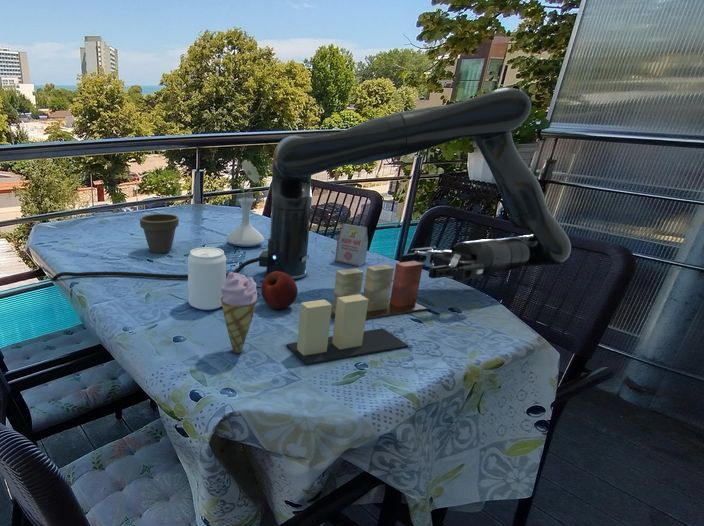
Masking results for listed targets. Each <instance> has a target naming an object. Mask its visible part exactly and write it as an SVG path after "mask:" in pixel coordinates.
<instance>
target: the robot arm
mask: <svg viewBox="0 0 704 526" xmlns="http://www.w3.org/2000/svg"><path fill="white" fill-rule="evenodd" d="M531 110H532V102H531V99H530V97H529V96H528V95H527V93H526V92H524V91H523V90H520V89H517V88H514V87H502V88H498V89H494V90H493V91H490V92H487V93H484V94H481V95H478V96H475V97H472V98H469V99H466V100H462V101H459V102H458V101H457V102H455V103H450V104H444V105H437V106H429V107H424V108H423V107H422V108H416V109H412V110H411V109H410V110H406V111H399V112H396V113H391V114H387V115H382V116H379V117H376V118H372V119H369V120H367V121H364V122H361V123H359V124H356V125H354V126H352V127H349V128H347V129H345V130H341V131H339V132H338V131H337V132H334V133H329V134H323V135H316V136H306V137H304V136H300V135H296V134H295V135H288V136H286V137H284V138H282V139H281V140H280V141H279V142H278V143H277V145H276V146H275V148H274V150H273V154H272V170H271V171H272V172H271V212H270V230H269V237H268V241H267V250H263V251H261V253H260V255H259V256H258V257H255V258H252V259H249V260H245V261H244V262H242V263H241V264H240V265H239V266H238V267H237V268H236V269H235V270H233V271H232V272H233V273H238V274H240V272H241V271H242V269H243V268H245V267H247V266H248V265H251V264H255V263H258V267H260V268H266V276H267V275H268V274H269V273H271V272H274V271H279V272H284V273H286V274H288V275H289V276H290V277H292V279H293V280H299V279H303V278H305V276H306V274H307V260H309V258H310V253H309V254H308V247H309V237H310V236H309V235H310V223H311V213H312V202H313V201H312V199H313V198H312V197H313V196H312V195H313V194H312V176H314V175H317V174H320V173H323V172H327V171H330V170H334V169H336V168H341V167H345V166H353V165H360V164H361V165H362V164H368V163H374V162H380V161H385V160H392V159H395V158H400V157H405V156H409V155H412V154H416V153H418V152H419V153H420V152H422V151H425V150H430V149H432V148H435V147H437V146H441V145H443V144H446V143H450V142H452V141H456V140H460V139H466V138H472V139H473V141H474V143H475V144H476V146H477V147H478V149H479V151H480V153H481V155H482V156H483V159H484V161H485V163H486V164H487V166H488V168H489V170H490V173H491V174H492V177H493V179H494V181H495V184H496V187H497V189H498V191H499V194H500V196H501V199H502V203H503V206H504V209H505V211H506V214H507V217H508V220H509V223H510V224H511V226H512V227H513V228H516V229H520V230H521V229H522V230H526V231H528V232H529V233H531V234H526V235H519V236H515V237H504V238H495V239H494V238H487V239H477V240H469V241H462V242H458V243H455V245H453V246H452V247H451V248H449V249H442V250H437V247H436V246H428V247H427V246H425V247H416V248H411V249H410V253H404V254H401V255H400V256H399V262H398V263H401V262H409V261H416V262H419V263H421V264H423V265H424V266H425V267H427V268H429V270H428V278H430V279H439V278H448V279H453V278H455V279H456V280H455V281H460V282H461V281H468V280H473V279H478V278H482V277H483V276H486V275H492V274H496V273H500V272H505V271H513V270H517V269H519V268H521V267H535V266H536V267H537V266H557V265H561V264H563V263H564V262H567V260H568V259H569V258H570V254H571V251H572V244H571V240H570V238H569V236H568V234H567V233H566V231H565V230H564V229H563V227H562V226H561V225H560V224H559V221H557V220H556V218H555V217H554V215H553V213H551V212H550V210H549V207H548V204H547V201H546V198H545V194H544V192H543V190H542V186H541V184H540V182H539V180H538V179H537V177H536V175H535V174H534V172H533V171H532V170H531V168H530V167H529V166H528V165H527V164H526V162H525V161H524V159H523V158H522V157H521V155H520V153H519V152H518V149H517V147H516V145H515V143H514V140H513V136H512V135H513V134H512V132H513V131H515V130H516V129H519V127H520V126H521V125H522V124H524V123H525V121H526V120H527V119H528V117H529V115H530V113H531ZM431 260H432V262H431ZM229 273H230V272H226V276H228V274H229ZM65 276H66V277H89V276H91V277H92V276H119V277H120V276H123V277H140V278H155V279H156V278H157V279H158V278H159V279H183V280H185V279H186V280H188V274H173V273H172V274H171V273H170V274H169V273H152V272H151V273H150V272H133V271H84V272H83V271H82V272H73V271H61V272H58V273H56V274H55V275H53V276H52V278H51V279H50V281H51V282H55V281H57V279H59V278H61V277H65Z"/></svg>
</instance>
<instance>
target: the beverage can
mask: <svg viewBox="0 0 704 526" xmlns="http://www.w3.org/2000/svg"><path fill="white" fill-rule="evenodd" d="M226 274H227V256H226V255H225V251H224V250H223V249H222V248H219V247H213V246H201V247H195V248H193V249H190V251H189V254H188V256H187V275H188V279H187V288H188V289H187V290H188V291H187V296H188V304H189V305H190V306H191V307H192V308H195V309H197V310H203V311H212V310H216V309H219V308H221V307H222V302H221V297H222V296H223V295H222V291H221V287H222V286H223V285H224V283H225V281H226V280H227V277H226Z"/></svg>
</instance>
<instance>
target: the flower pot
mask: <svg viewBox="0 0 704 526" xmlns="http://www.w3.org/2000/svg"><path fill="white" fill-rule="evenodd" d="M179 219H180V217H179V216H178V215H175V214H169V213H154V214H146V215H143V216H141V217H139V225H140V228H142V229H143V232H144V235H145V239H146V243H147V247H148V250H149V251H150V252H151V253H154V254H164V253H165V254H166V253H169V252H171V250H172V248H173V243H174V239H175V233H176V229H177V227H179V225H180V223H179Z"/></svg>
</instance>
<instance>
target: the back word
mask: <svg viewBox="0 0 704 526" xmlns="http://www.w3.org/2000/svg"><path fill="white" fill-rule="evenodd" d="M394 272H395V268H394V267H393V266H390V265H388V264H378V265H370V266H366V271H365V280H364V287H363V292H362V291H361V290H362V284H363V277H364V271H363V270H361V269H358V268H357V267H356V268H347V269H339V270H336V272H335V281H334V288H333V289H334V290H333V297H332V309H331V318H333V319H335V314H336V305H337V297H344V296H351V295H358V294H360V295H361V293H363V294H362V296H364V297H366V298H367V299H369V300H368V307H367V314H366V320H373V319H378V318H379V319H380V318H384V317H392V316H397V315H404V314H410V313H416V312H423V311H427V310H428V307H426V306H424V305H421V304H420V303H417V302H416V304H415V305H409V306H403V307H396V306H394V305H392V304H391V303H390V298H391V297H390V296H391V290H392V284H393V278H394Z"/></svg>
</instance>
